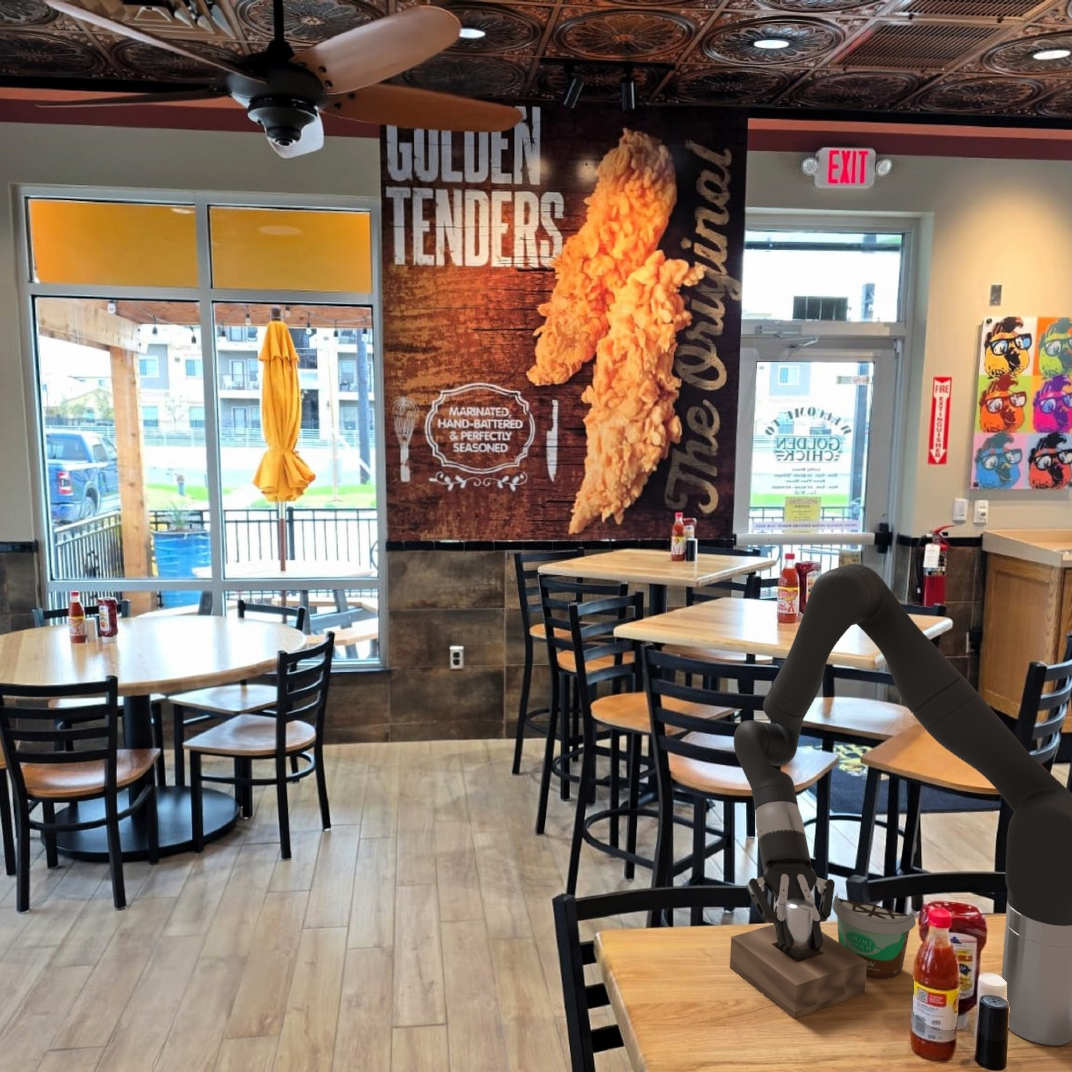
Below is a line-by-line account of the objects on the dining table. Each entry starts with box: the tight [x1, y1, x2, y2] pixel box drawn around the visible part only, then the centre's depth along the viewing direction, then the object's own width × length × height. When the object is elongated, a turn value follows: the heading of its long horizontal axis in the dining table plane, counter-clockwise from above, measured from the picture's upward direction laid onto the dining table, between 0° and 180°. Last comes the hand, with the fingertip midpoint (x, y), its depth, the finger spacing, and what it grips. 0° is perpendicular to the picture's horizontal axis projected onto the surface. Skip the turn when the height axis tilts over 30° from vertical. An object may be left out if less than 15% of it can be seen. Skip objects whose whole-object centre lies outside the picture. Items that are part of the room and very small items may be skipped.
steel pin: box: [783, 898, 814, 962], centre depth 135 cm, size 4×4×10 cm
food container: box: [832, 891, 916, 980], centre depth 138 cm, size 12×6×10 cm, turn 62°
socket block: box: [729, 923, 867, 1020], centre depth 136 cm, size 14×14×5 cm
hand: (802, 949), depth 133 cm, fingers closed on steel pin, 4 cm apart
